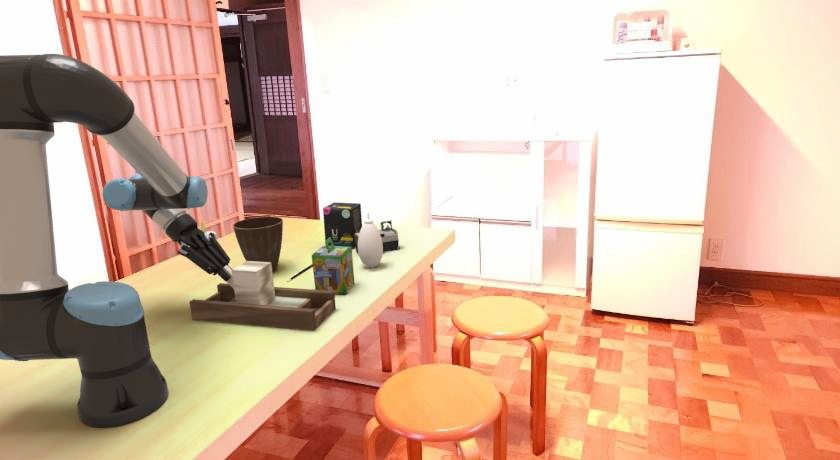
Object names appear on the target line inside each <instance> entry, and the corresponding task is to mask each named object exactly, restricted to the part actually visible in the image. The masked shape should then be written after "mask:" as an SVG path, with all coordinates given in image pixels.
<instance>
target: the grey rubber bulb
mask: <svg viewBox="0 0 840 460" xmlns="http://www.w3.org/2000/svg"><path fill="white" fill-rule="evenodd" d="M363 222H364V223H362V228H361V230H360V233H359V237H358V253H357V254H358V257H359V259H360V261H361V263H362V264H363V265H365V266H366V268H370V269H374V268H375V267H377V266H378V265H379V263H381V261H382V258H383V255H384V252H383V244H382V239H381V236H380V233H379V231H378V230H379V229H378V227H377V225H376V224H375V223H374V222H373V219H370V215H369V212H367V219H365V220H364V221H363Z"/></svg>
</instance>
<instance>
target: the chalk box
mask: <svg viewBox="0 0 840 460" xmlns="http://www.w3.org/2000/svg"><path fill="white" fill-rule="evenodd" d="M329 242H330V243H331V246H328V243H329ZM324 244H325V245H323V246H321V247H320V248H319V249H317V250H315V252H313V253H312V254H311V262H312V264H313V267H312V271H313V272H312V273H313V279H314V290H326V291H334V294H335V295H347V293H348V292H350V291H349V290H351V288H353V286H354V285H355V283H356V282H355V274H354V261H353V259H354V258H353V249H352V247H342V246H334V244H333V242H332V239H331V237H329V238H328V239H327V240H326V241H325V240H324ZM312 264H311V265H312Z"/></svg>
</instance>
